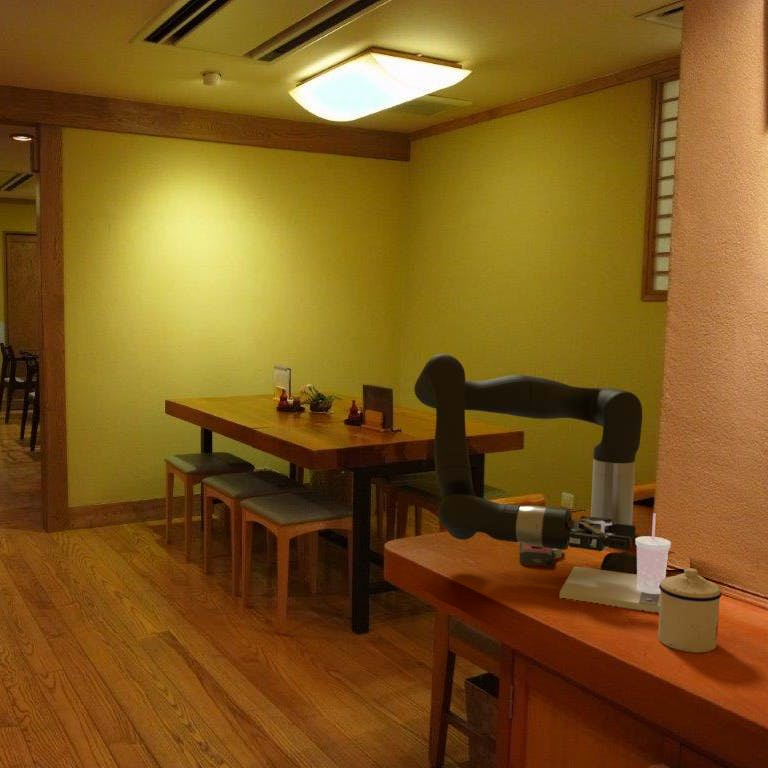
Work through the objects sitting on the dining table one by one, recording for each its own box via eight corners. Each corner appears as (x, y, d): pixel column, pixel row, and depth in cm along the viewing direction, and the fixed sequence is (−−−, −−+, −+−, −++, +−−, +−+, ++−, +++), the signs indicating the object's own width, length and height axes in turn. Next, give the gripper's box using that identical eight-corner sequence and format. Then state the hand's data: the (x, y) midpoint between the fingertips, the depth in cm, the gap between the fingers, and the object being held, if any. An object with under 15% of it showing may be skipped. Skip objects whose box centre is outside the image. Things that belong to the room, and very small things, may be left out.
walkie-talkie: (562, 571, 166) (561, 543, 185) (563, 549, 165) (561, 523, 185) (518, 567, 167) (520, 540, 187) (518, 546, 167) (521, 521, 186)
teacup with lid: (730, 652, 127) (735, 577, 126) (676, 656, 125) (680, 580, 124) (686, 622, 139) (690, 554, 138) (636, 625, 137) (640, 556, 136)
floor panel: (574, 572, 164) (574, 564, 164) (705, 590, 155) (705, 582, 155) (559, 598, 149) (559, 590, 149) (703, 619, 140) (704, 611, 140)
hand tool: (680, 567, 169) (681, 545, 169) (691, 574, 165) (693, 551, 165) (594, 572, 165) (595, 549, 164) (603, 579, 161) (604, 555, 161)
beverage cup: (656, 598, 146) (661, 519, 145) (626, 588, 151) (629, 512, 150) (674, 590, 151) (679, 514, 149) (644, 581, 155) (648, 507, 154)
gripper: (536, 516, 150) (630, 526, 144) (551, 499, 163) (637, 508, 157) (535, 556, 151) (628, 569, 145) (549, 536, 164) (635, 547, 158)
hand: (633, 537), depth 151 cm, fingers open, 8 cm apart
